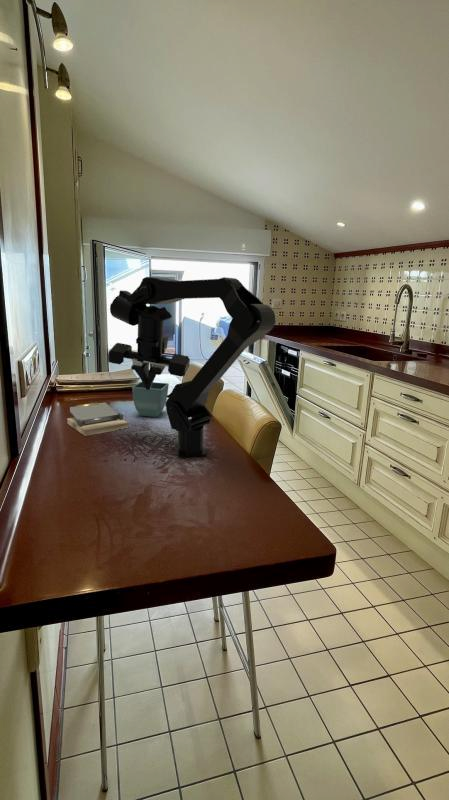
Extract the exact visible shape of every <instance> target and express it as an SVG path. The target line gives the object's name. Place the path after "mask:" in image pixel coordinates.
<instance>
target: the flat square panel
mask: <svg viewBox="0 0 449 800" xmlns="http://www.w3.org/2000/svg"><path fill="white" fill-rule="evenodd" d="M69 412H70V414H71V415H72V416H73V417H75V418H76V419H77V420H78V419H80V420H82V421H83V425H85V424H91V423H97V422H103V421H109V420H115V419H119V417H118V413H117V412H116V411H115V410H114V409H113V408H112V407H111V406H110V405H109V404H108V403H106V402H92V403H84V404H77V405H76V406H70V407H69Z"/></svg>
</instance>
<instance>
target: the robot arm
mask: <svg viewBox="0 0 449 800" xmlns="http://www.w3.org/2000/svg"><path fill="white" fill-rule="evenodd" d="M118 293H119V295H117V296H116V297H114V299H113V300H112V302H111V303H110V305H109V313H110V315H111V316H112V317H113V318H115V319H118V320H119V321H121V322H124V323H126V324H127V325H130V326H137V338H136V339H135V344H137V349H136V350H137V351H134V350H133V346H132V345H131V344H127V343H122V342H116V343H115V344H114V345H113V346H112V347H111V349H110V350H109V351H107V352H108V353H107V362H108V363H111V364H116V365H121V364H123V363H124V360H125V359H127V360H128V359H129V360H131V361H132V365H131V367H130V369H131V370H132V371H134V372H135V373H136V374H137V376H138V378H140V380H141V382H143V384H144V386H145V388H146V390H150V388H151V386H152V383H153V382H154V381H155V378H156V376H160V375H162V374H163V371H164V370H165V368H167V371H168V373H169V374H170V375H172V376H177V377H185V376H186V375H187V371H188V370H189V368H190V363H191V359H190V357H189V356H187V355H183V354H179V353H174V354H173V355H172V357H171V358H169V357H167V356H166V355H164V354H165V352H166V350H167V349H168V342H169V335H165V333H164V322H165V321H166V320H170V319H172V317H173V316H172V314H171V312H169V311H168V310H167V308H166V306H163V307H161V308H160V307H157V306H155V305H168V304H173V303H177V302H180V301H182V300H185V299H186V300H188V299H218V298H219V299H220V300H221V301H222V303H223V306H224V309H225V311H226V313H227V314H228V315H229V316H230V317H231V321H230V322H229V324H228V331H227V334H226V337H225V338H224V339H223V341H221V343H220V344H219V345H218V347H217V348H215V349H216V350H215V351H214V352H213V353H212V354H211V355H210V357H209V358H208V359H207V360H206V362H205V363H204V364H203V366H202V367H201V368H200V370H199V371H198V372H197V373H196V374H195V376H194V377H193V378H192V379H191V380H189V381H184V382H181V383H177V384H176V385H175V386H174V387H173V389H172V391H171V392H170V393H169V394H167V400H166V403H165V406H164V407H165V410H166V412H167V416H168V420H169V421H168V422H169V425H170V428H171V429H172V430H175V431H176V432H177V445H176V444H175V445H174V450H175V452H176V454H177V457H178V458H189V457H206V456H207V455H208V452H207V451H206V448H205V447H204V433H205V432H204V427H205V426H206V425H210V424H211V421H212V418H213V415H212V414H211V412H210V411H209V410H208V408H207V407H206V403H208V396H209V395H208V394H209V393H210V391H211V390H212V389H213V388H214V387H215V386H216V384H217V383H218V382H219V380H220V379H221V378H222V377H223V376H224V375H225V374H226V372H228V370H229V369H230V368H231V366H233V364H234V363H235V362H236V361H237V359H238V358H239V357H240V356H241V355H242V354H243V352H244V351H246V349H247V348H249V347H250V346H251V345H253V344H254V343H256V342H258V341H260V339H262V338H263V337H264V336H265V335H267V334H268V333H269V332H271V330H273V328H274V327H275V325H276V322H277V321H276V314H275V311H274V309H273V308H272V307H271V306H269V305H268V304H264V303H263V301H262V300H260V298H259V297H257V296H256V295H255V294H254V293H252V291H250V290H248V289H247V288H246V286H244V285H243V283H242V282H241V281H240V280H239V279H237V278H236V277H235V278H234V277H226V276H225V277H220V278H211V279H193V280H192V279H189V280H177V279H172V278H167V277H166V278H165V277H153V276H145V277H143V278H142V279H141V282H140V284H139V285H138V287H136V289H135V290H134V291H133V292H132V293H131V292H130V291H128V290H119V292H118ZM150 364H151V367H150Z"/></svg>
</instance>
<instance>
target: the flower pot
mask: <svg viewBox="0 0 449 800" xmlns="http://www.w3.org/2000/svg"><path fill="white" fill-rule="evenodd" d="M169 387H170V385H169V383H167V382H154V381H153V383H152V386H151V388H150V390H146V388H145V386H144V384H143V382H142V381H139V382H138V383H136V384H135V385H133V386H132V388H131V389H132V391H131V392H132V397H133V405H134V408H135V410H136V411H137V413H138V414H139V416H140V417H141V416H142V417H151V418H158V416H159V415H161V413H162V412H163V410H164V408H165V407H166V406H165V404H166V401H167V399H168V397H167V395H169V394H168V393H169Z"/></svg>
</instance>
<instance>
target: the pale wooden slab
mask: <svg viewBox="0 0 449 800" xmlns="http://www.w3.org/2000/svg"><path fill="white" fill-rule="evenodd" d="M117 414H118V417H119V419H115V420H109V421H103V422H97V423H91V424H85V425H83V421H82V420H80V419H78V420H77V419H76V418H75V416H73V417H69V418H68V417H67V421H66V423H67V424H68V426H70V427H71V428H73V429H74V430H76V431H77V432H79V433H80V434H82V435H83V436H85V437H87V436H93V435H100V434H103V433H104V434H105V433H110V432H114V431H115V430H116V431H120V430H119V429H121V430H125V429H124V428H126V429H129V427H130V426H129V421H126V420H125V419H124V414H123V413H121V412H118V413H117Z"/></svg>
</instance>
